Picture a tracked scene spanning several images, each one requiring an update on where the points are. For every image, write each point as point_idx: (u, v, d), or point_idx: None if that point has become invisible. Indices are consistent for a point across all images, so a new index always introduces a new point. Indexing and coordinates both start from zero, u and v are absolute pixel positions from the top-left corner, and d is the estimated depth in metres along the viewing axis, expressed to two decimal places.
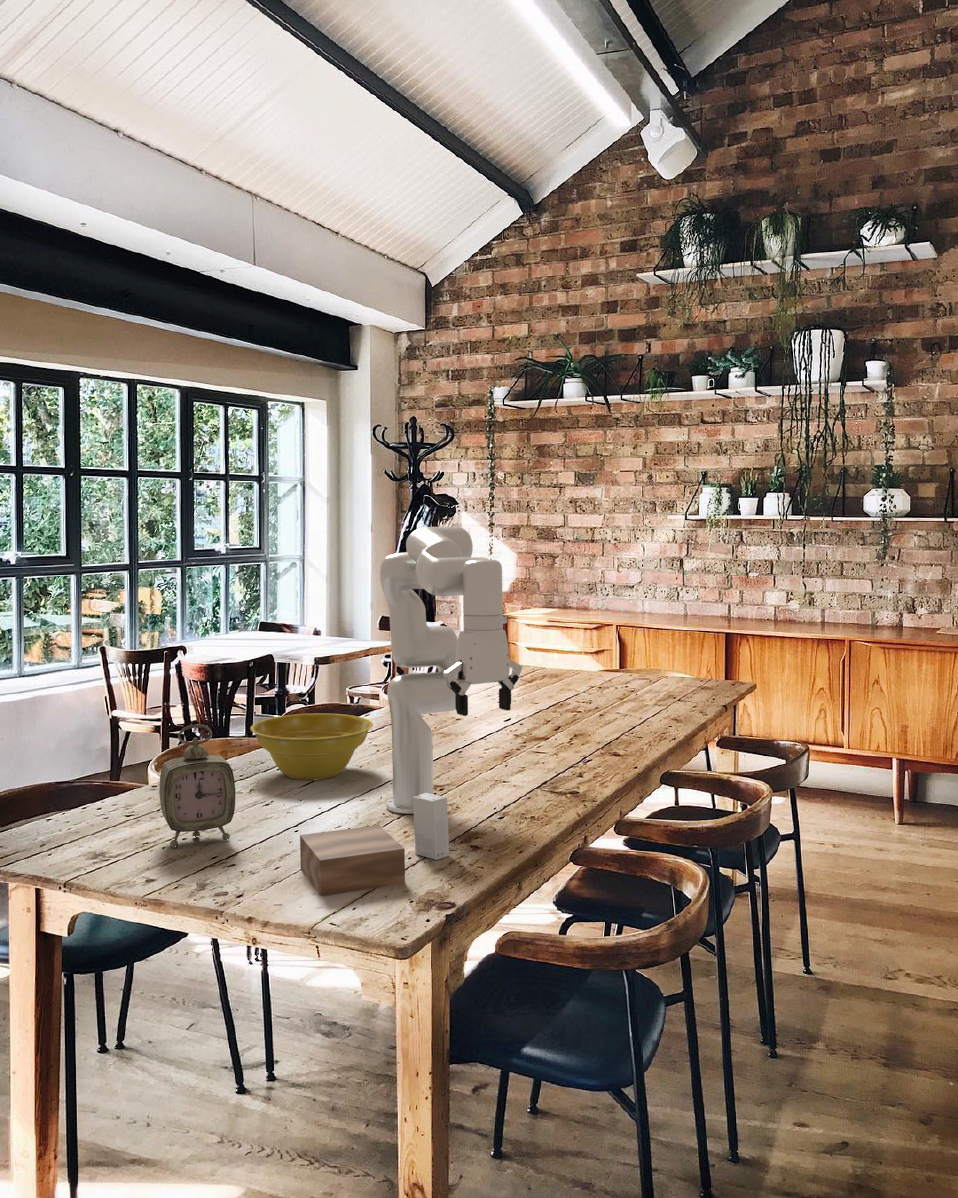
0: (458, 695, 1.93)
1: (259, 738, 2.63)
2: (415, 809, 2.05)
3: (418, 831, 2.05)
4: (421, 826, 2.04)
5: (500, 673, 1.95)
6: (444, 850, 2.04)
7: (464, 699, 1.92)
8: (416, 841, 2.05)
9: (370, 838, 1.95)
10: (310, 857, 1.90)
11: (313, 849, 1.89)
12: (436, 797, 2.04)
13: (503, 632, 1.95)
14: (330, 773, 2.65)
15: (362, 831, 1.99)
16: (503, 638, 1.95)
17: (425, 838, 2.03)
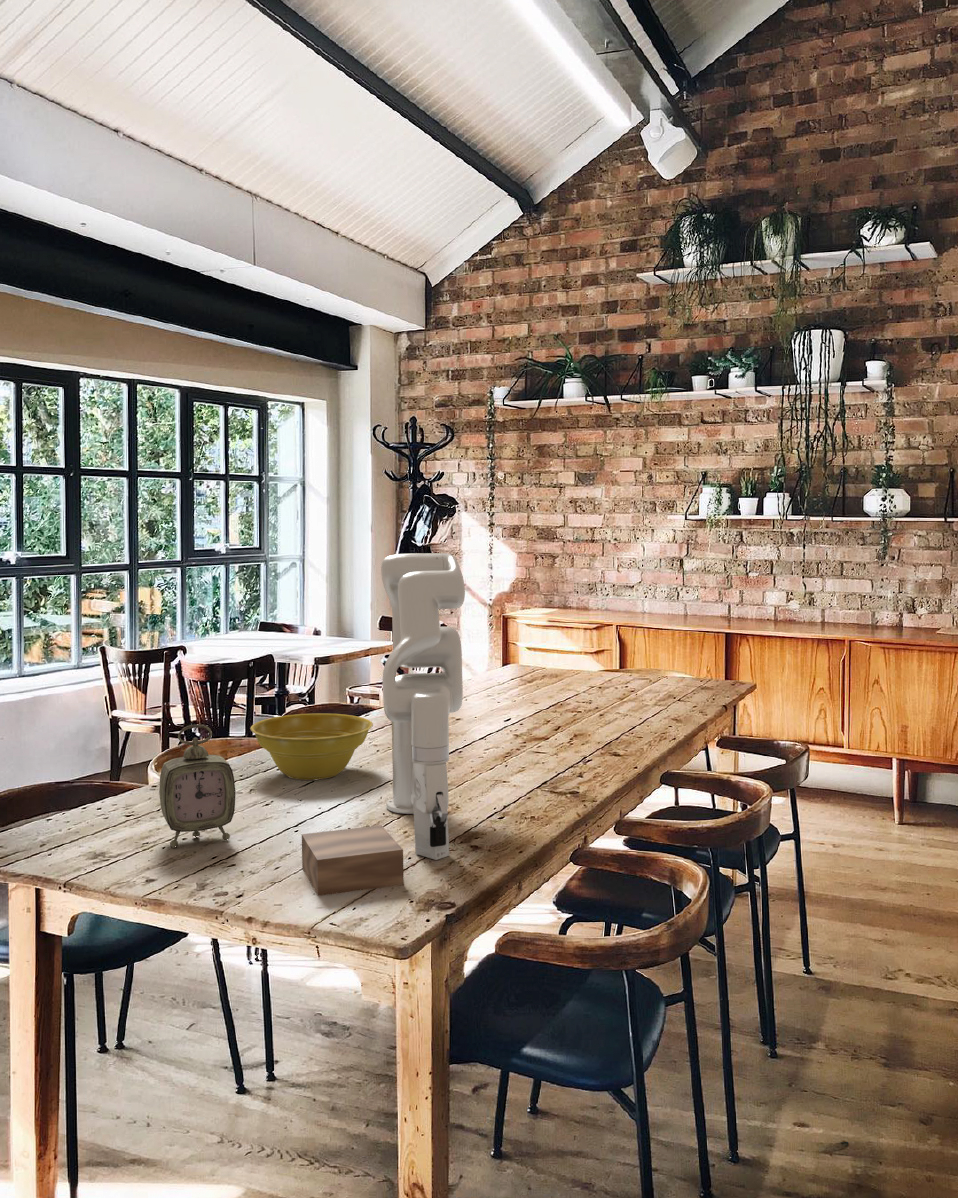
0: (441, 827, 2.01)
1: (259, 738, 2.63)
2: (415, 809, 2.05)
3: (418, 831, 2.05)
4: (421, 826, 2.04)
5: None
6: (444, 850, 2.04)
7: (445, 829, 2.02)
8: (416, 841, 2.05)
9: (370, 839, 1.95)
10: (309, 856, 1.90)
11: (312, 848, 1.89)
12: None
13: None
14: (330, 773, 2.65)
15: (363, 832, 1.99)
16: None
17: (425, 838, 2.03)
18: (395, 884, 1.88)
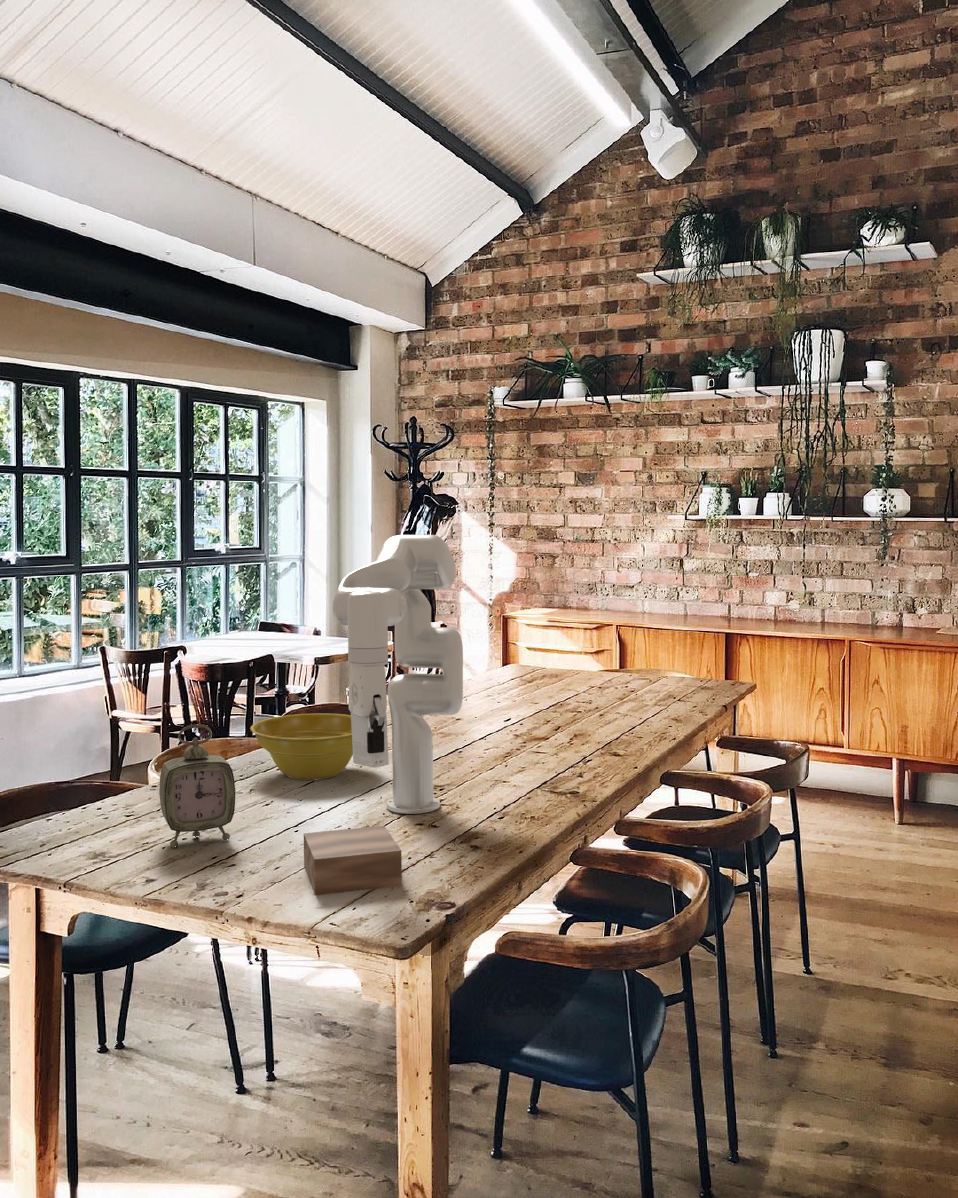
0: (379, 733, 1.90)
1: (259, 738, 2.63)
2: (352, 715, 1.94)
3: (356, 739, 1.94)
4: (358, 733, 1.93)
5: None
6: (383, 758, 1.93)
7: (383, 735, 1.91)
8: (354, 749, 1.95)
9: (370, 839, 1.95)
10: (309, 856, 1.91)
11: (311, 848, 1.90)
12: None
13: None
14: (330, 773, 2.65)
15: (365, 832, 1.99)
16: None
17: (363, 745, 1.93)
18: (393, 885, 1.88)
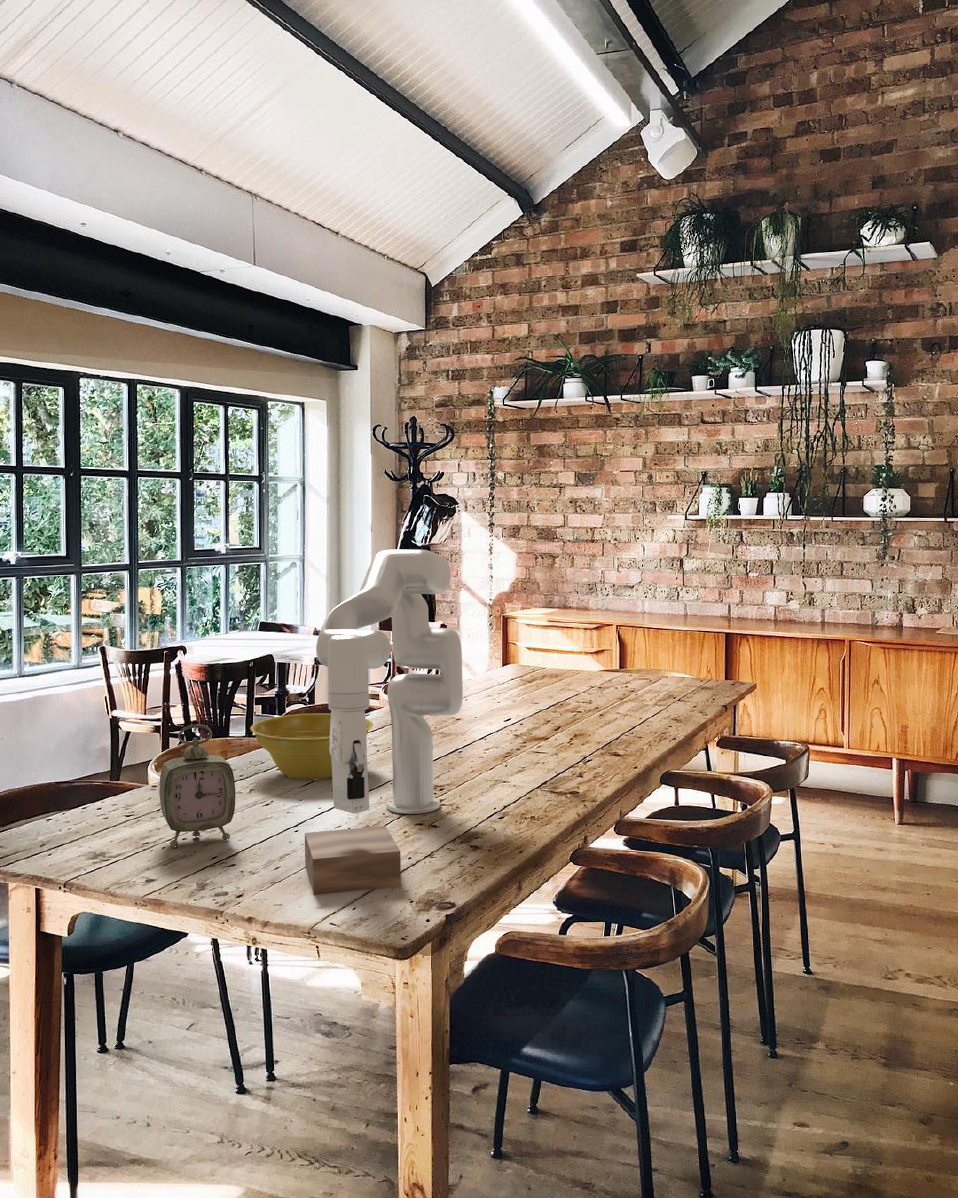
0: (359, 779, 1.88)
1: (259, 738, 2.63)
2: (333, 760, 1.92)
3: (336, 784, 1.92)
4: (339, 778, 1.91)
5: None
6: (363, 803, 1.91)
7: (363, 780, 1.89)
8: (334, 794, 1.93)
9: (370, 839, 1.95)
10: (309, 855, 1.91)
11: (311, 847, 1.90)
12: None
13: None
14: (330, 773, 2.65)
15: (366, 832, 1.99)
16: None
17: (343, 790, 1.91)
18: (392, 885, 1.88)
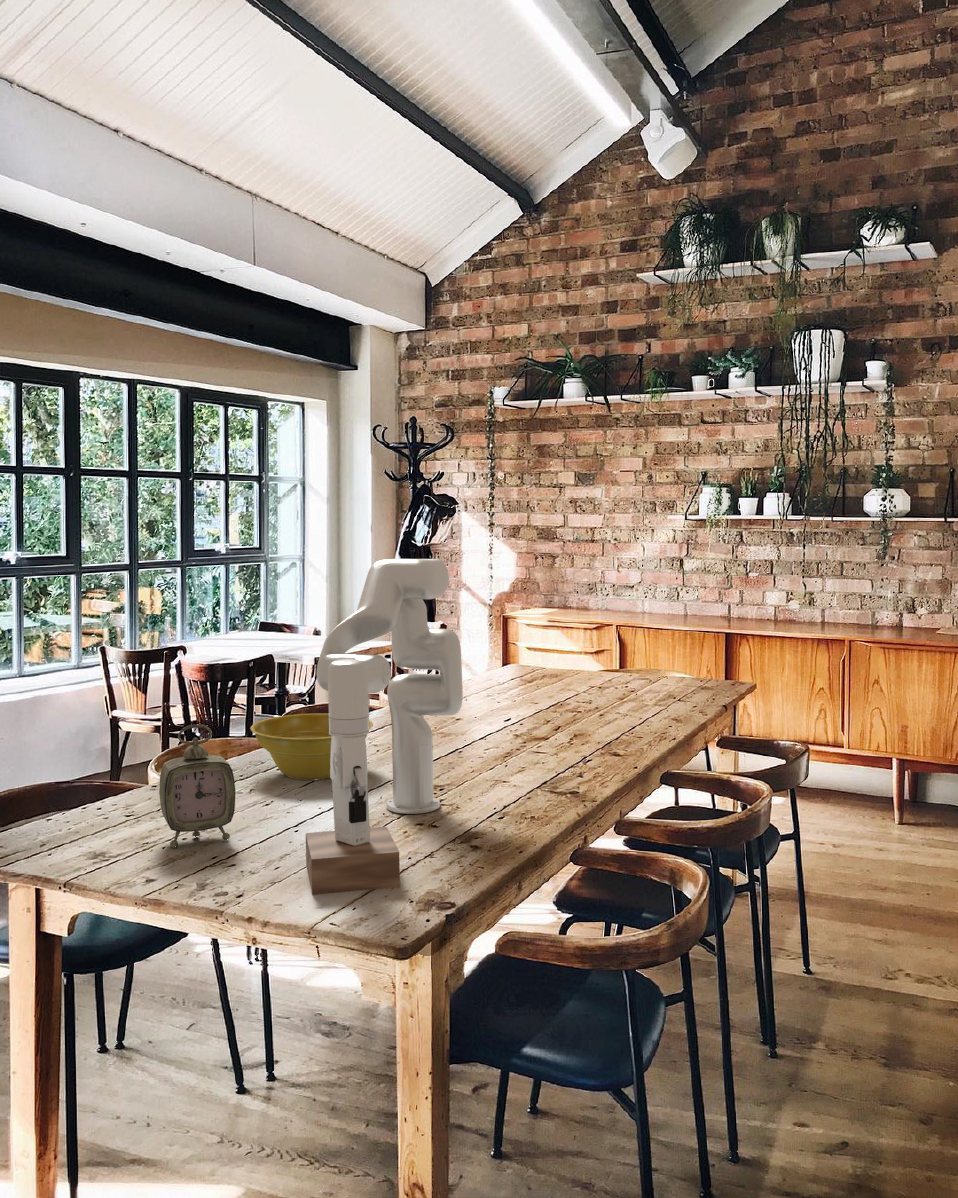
0: (360, 802, 1.88)
1: (259, 738, 2.63)
2: (334, 792, 1.93)
3: (337, 816, 1.93)
4: (340, 810, 1.92)
5: None
6: (364, 835, 1.92)
7: (365, 804, 1.89)
8: (335, 826, 1.94)
9: (370, 840, 1.94)
10: None
11: (310, 848, 1.90)
12: None
13: None
14: None
15: None
16: None
17: (344, 823, 1.92)
18: (391, 886, 1.88)
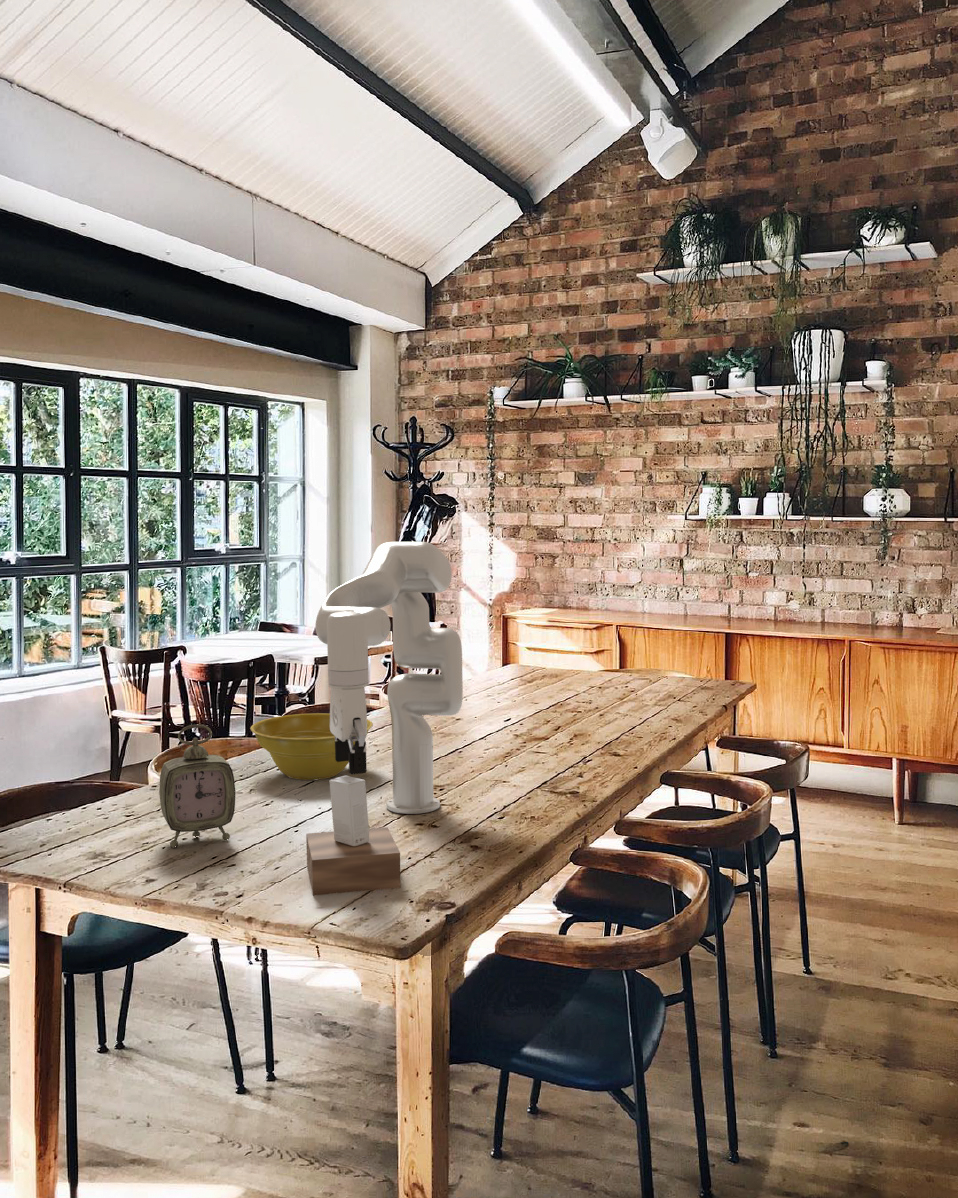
0: (360, 753, 1.87)
1: (259, 738, 2.63)
2: (332, 793, 1.93)
3: (336, 817, 1.93)
4: (338, 811, 1.92)
5: None
6: (363, 836, 1.92)
7: (365, 755, 1.88)
8: (334, 827, 1.93)
9: (371, 840, 1.94)
10: (309, 856, 1.91)
11: (311, 848, 1.90)
12: (353, 780, 1.91)
13: None
14: (330, 773, 2.65)
15: None
16: None
17: (343, 824, 1.91)
18: (392, 887, 1.87)
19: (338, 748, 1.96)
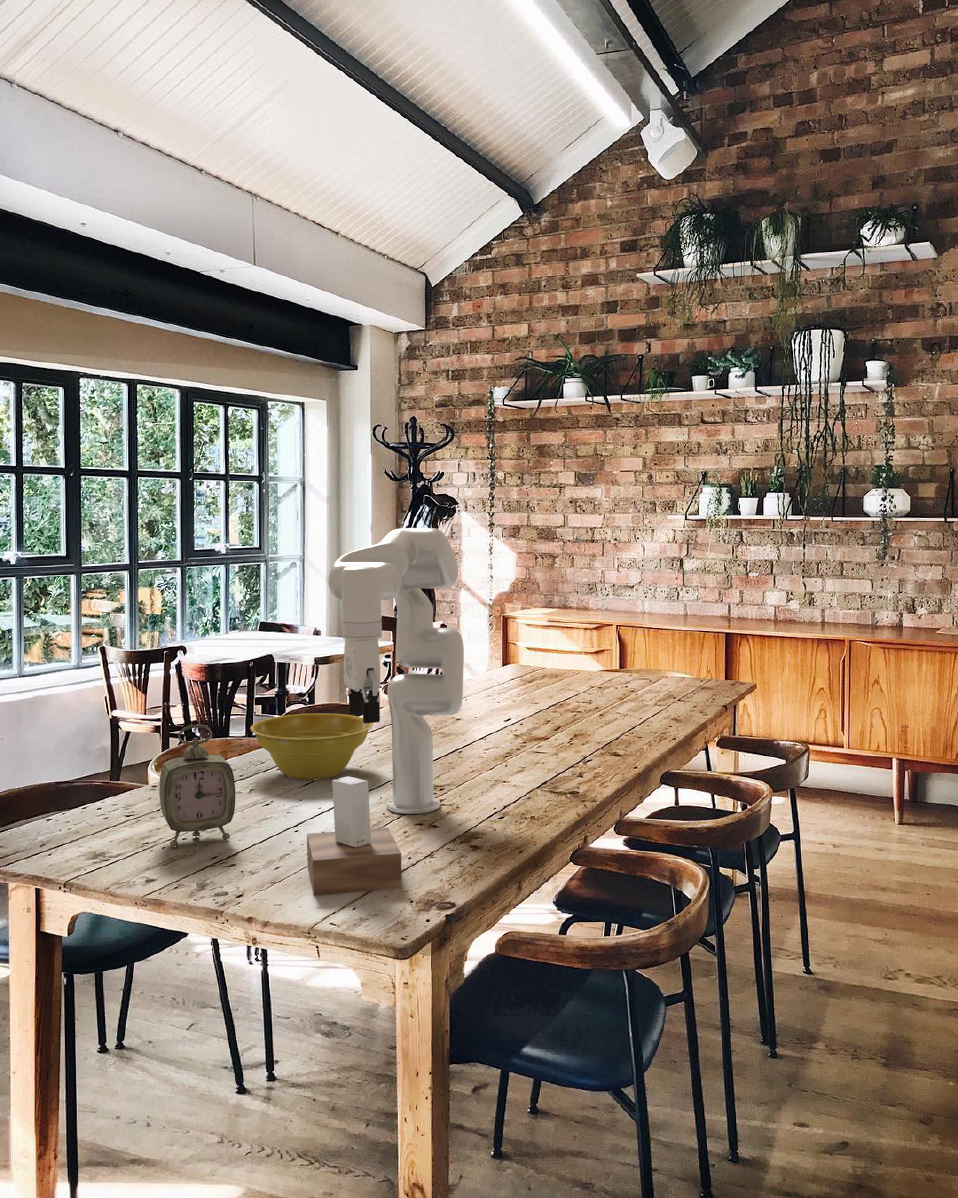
0: (374, 703, 1.92)
1: (259, 738, 2.63)
2: (334, 793, 1.92)
3: (338, 817, 1.92)
4: (340, 811, 1.91)
5: None
6: (365, 837, 1.91)
7: (378, 705, 1.93)
8: (336, 828, 1.93)
9: (372, 841, 1.94)
10: (310, 856, 1.90)
11: (312, 849, 1.89)
12: (356, 780, 1.91)
13: None
14: (330, 773, 2.65)
15: None
16: None
17: (345, 824, 1.91)
18: (393, 888, 1.87)
19: (352, 700, 2.01)
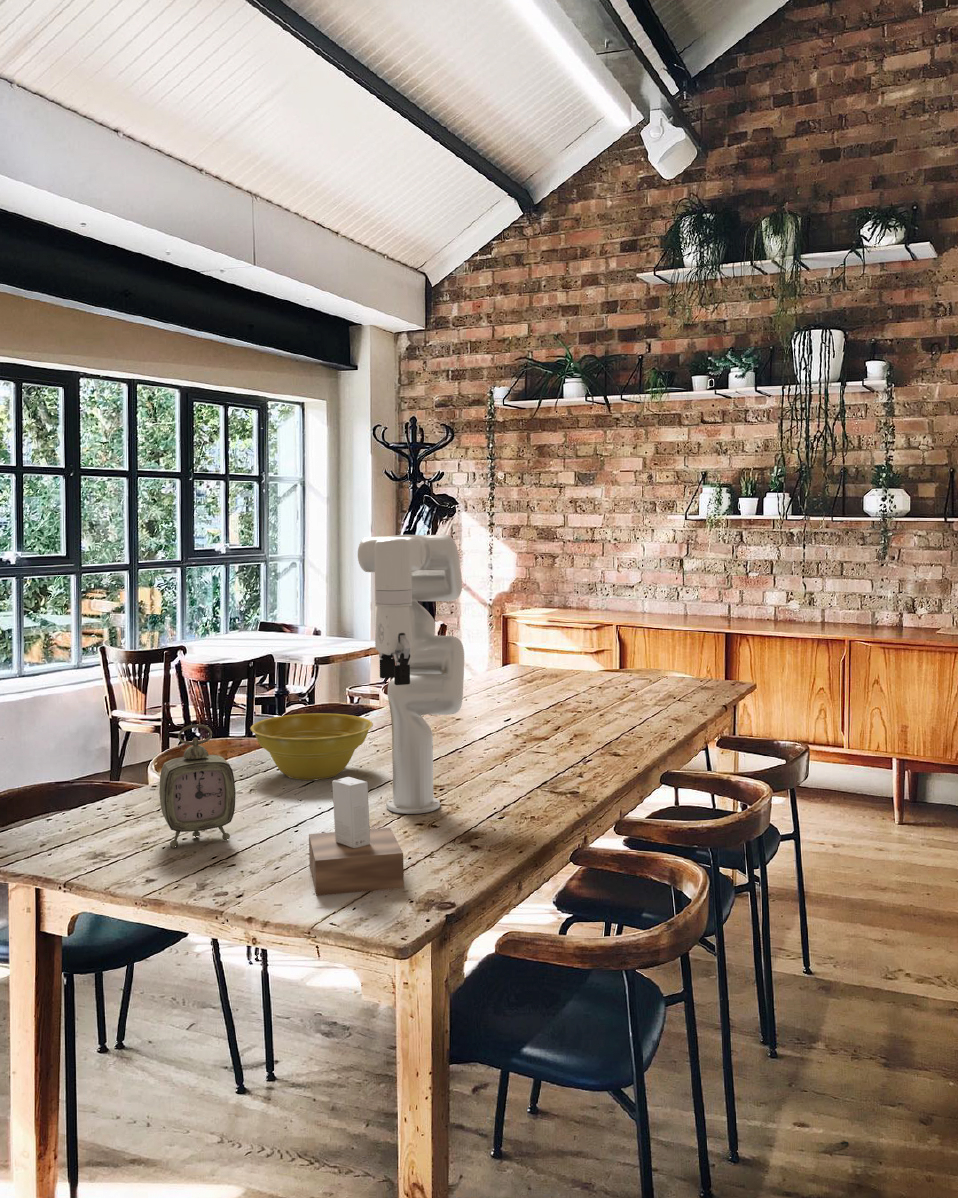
0: (405, 666, 2.05)
1: (259, 738, 2.63)
2: (334, 794, 1.92)
3: (337, 818, 1.92)
4: (340, 812, 1.91)
5: None
6: (364, 838, 1.91)
7: (409, 668, 2.06)
8: (336, 828, 1.93)
9: (374, 841, 1.94)
10: (312, 857, 1.91)
11: (314, 849, 1.89)
12: (355, 781, 1.91)
13: None
14: (330, 773, 2.65)
15: (370, 833, 1.99)
16: None
17: (344, 825, 1.91)
18: (395, 888, 1.87)
19: (382, 665, 2.14)
